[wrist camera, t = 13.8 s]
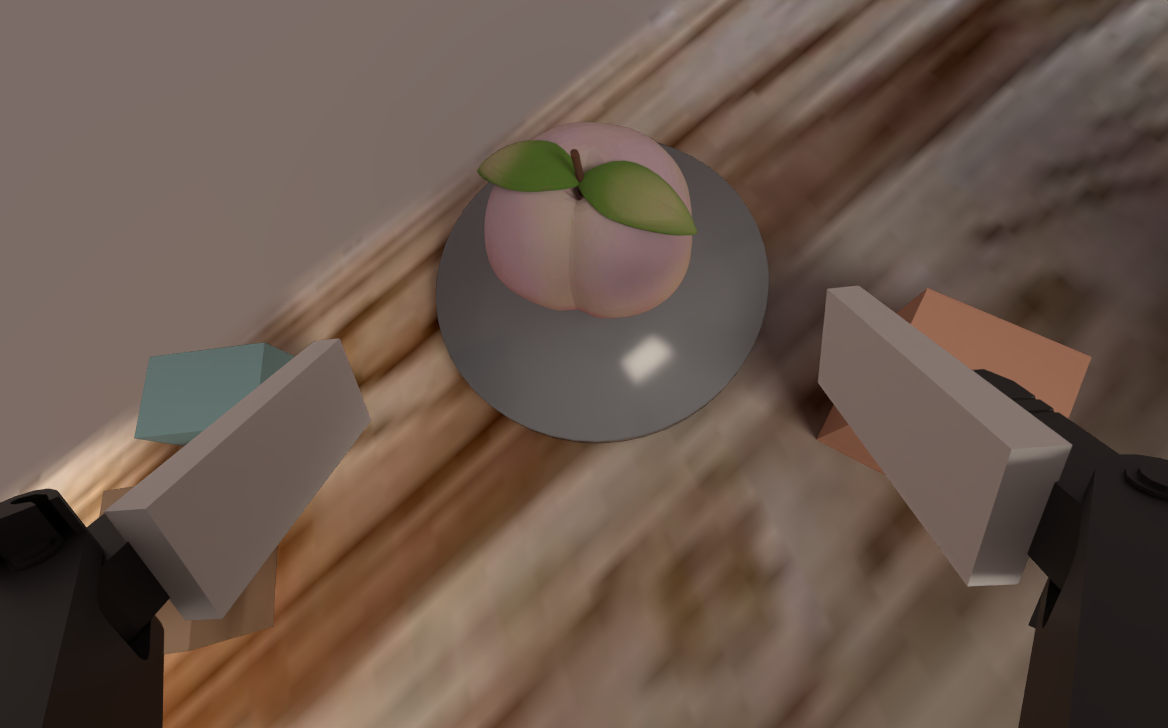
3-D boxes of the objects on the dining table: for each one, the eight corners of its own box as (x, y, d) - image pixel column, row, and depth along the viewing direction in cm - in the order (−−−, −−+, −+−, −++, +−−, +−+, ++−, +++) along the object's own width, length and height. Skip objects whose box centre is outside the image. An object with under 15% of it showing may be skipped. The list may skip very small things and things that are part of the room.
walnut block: (196, 495, 28) (103, 490, 23) (282, 483, 27) (206, 475, 22) (181, 637, 25) (75, 665, 21) (274, 625, 25) (188, 651, 20)
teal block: (327, 371, 29) (264, 342, 24) (322, 441, 28) (255, 424, 23) (229, 383, 29) (149, 356, 25) (220, 451, 28) (134, 438, 23)
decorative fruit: (700, 222, 27) (730, 64, 18) (672, 362, 25) (689, 268, 16) (537, 198, 29) (485, 43, 20) (497, 328, 27) (417, 225, 17)
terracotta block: (865, 338, 26) (927, 288, 20) (986, 394, 24) (1091, 357, 19) (815, 439, 25) (867, 416, 19) (941, 504, 23) (1037, 500, 18)
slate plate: (598, 102, 32) (597, 87, 31) (834, 274, 27) (843, 263, 26) (384, 292, 30) (373, 283, 29) (597, 519, 25) (595, 519, 24)
